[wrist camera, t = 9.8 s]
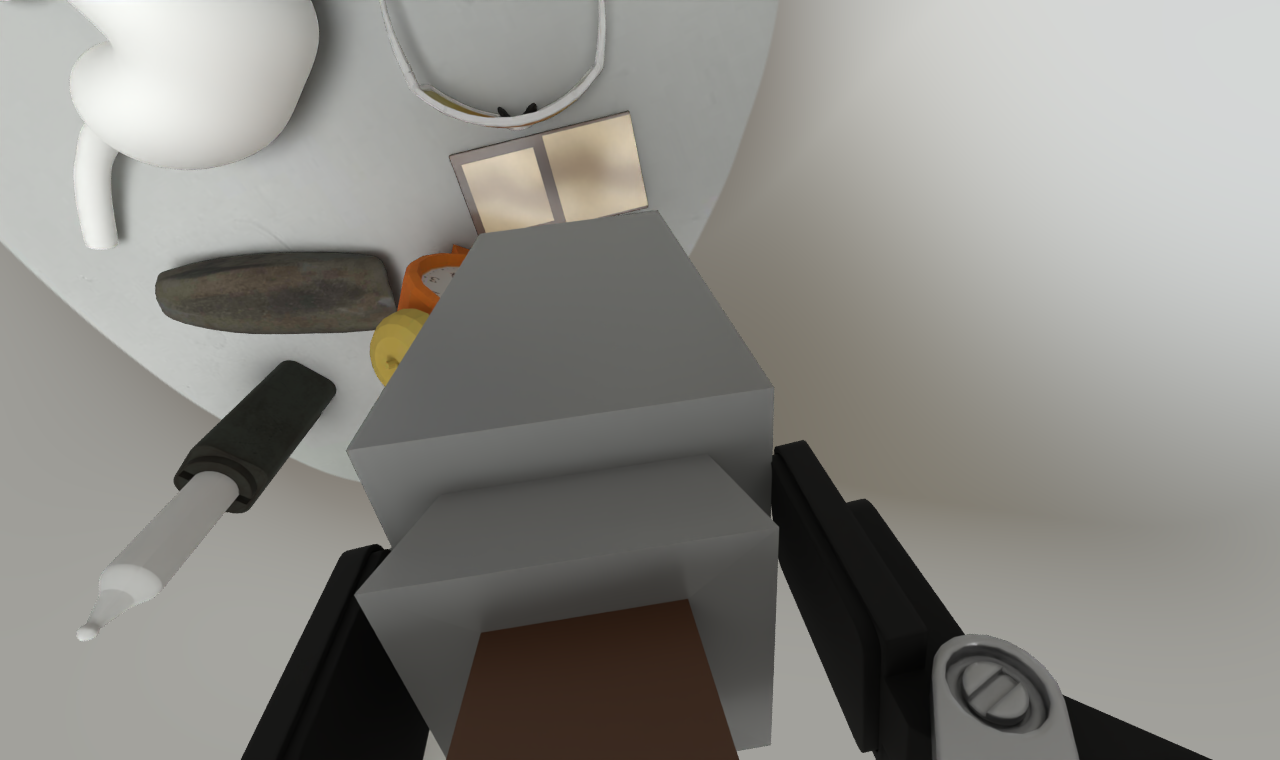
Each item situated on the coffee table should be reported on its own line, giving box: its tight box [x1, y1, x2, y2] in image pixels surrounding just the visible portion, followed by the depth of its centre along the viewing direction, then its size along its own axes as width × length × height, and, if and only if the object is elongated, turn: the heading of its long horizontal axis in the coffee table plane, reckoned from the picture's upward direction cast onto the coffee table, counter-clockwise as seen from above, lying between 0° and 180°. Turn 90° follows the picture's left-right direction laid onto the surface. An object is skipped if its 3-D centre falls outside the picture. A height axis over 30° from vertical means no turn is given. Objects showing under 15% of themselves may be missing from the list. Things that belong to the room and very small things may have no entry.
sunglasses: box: [379, 0, 606, 131], centre depth 35 cm, size 14×15×5 cm
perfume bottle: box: [346, 210, 779, 760], centre depth 14 cm, size 7×7×18 cm
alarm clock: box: [370, 244, 470, 386], centre depth 37 cm, size 13×6×20 cm, turn 68°
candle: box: [77, 361, 336, 641], centre depth 38 cm, size 5×5×25 cm
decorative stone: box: [155, 252, 397, 334], centre depth 42 cm, size 17×6×4 cm, turn 88°
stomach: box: [0, 0, 319, 250], centre depth 33 cm, size 23×13×24 cm
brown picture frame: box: [449, 111, 648, 236], centre depth 42 cm, size 7×14×1 cm, turn 102°
